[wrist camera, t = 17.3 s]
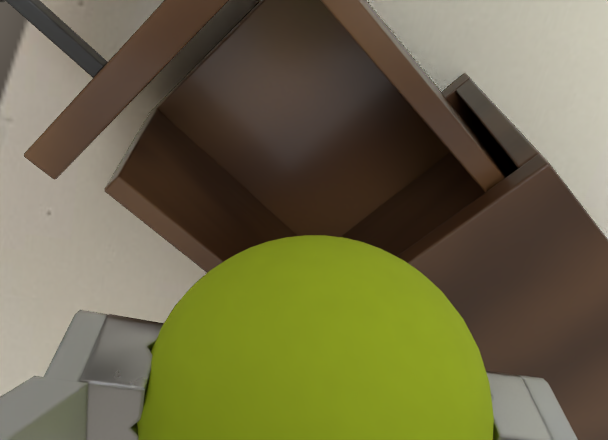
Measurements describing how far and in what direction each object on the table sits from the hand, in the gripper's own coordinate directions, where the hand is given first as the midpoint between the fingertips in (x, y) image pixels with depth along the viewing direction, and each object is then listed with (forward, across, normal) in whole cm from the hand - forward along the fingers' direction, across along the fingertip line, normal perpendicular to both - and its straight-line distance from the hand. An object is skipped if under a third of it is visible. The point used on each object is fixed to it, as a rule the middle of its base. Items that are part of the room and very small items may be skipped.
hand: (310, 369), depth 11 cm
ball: (-1, 0, 0) cm, 1 cm away
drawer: (+17, +2, -1) cm, 17 cm away
